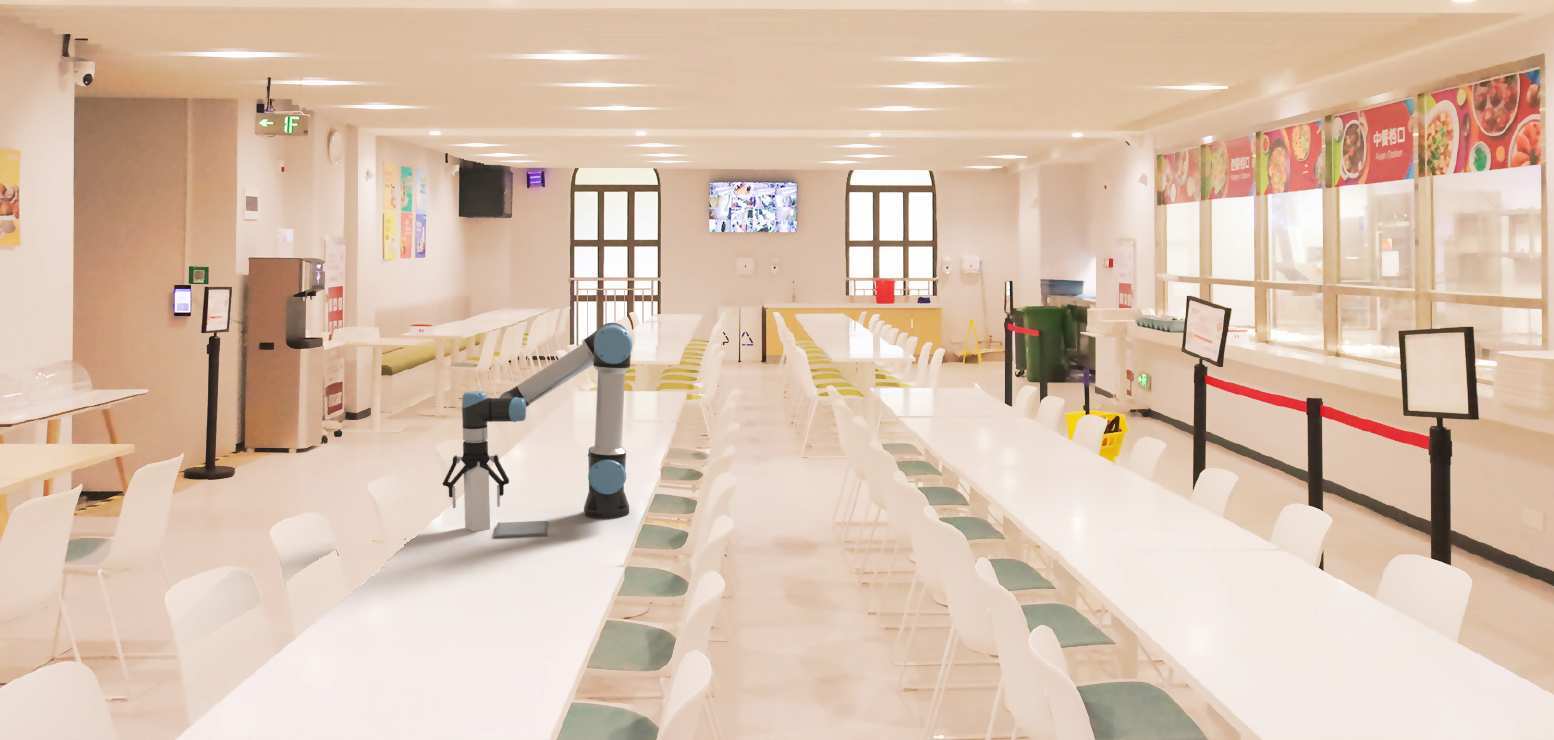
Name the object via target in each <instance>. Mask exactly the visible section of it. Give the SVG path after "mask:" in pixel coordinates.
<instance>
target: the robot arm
mask: <svg viewBox="0 0 1554 740" xmlns="http://www.w3.org/2000/svg"><path fill="white" fill-rule="evenodd" d="M632 340H633V339H632V335H631V334H630V332H628V330H627V329H626V328H625V327H624V326H623V324H620V323H618V322H607V323H605V324H602V325H600V327H599V328H598V329H596V330H595V331H594V332H593V333H591V334H590V335H589V336H587V337H586V338H584V339H583V340H582V344H581V345H579V346H577V347H576V348H574V349H572V350H571V351H570V352H568V353H567V354H565V355H563V356H562V357H560V358H559V359H557V360H555V361H553V362H552V363H551V364H548V365H547V366H546V367H544V368H543V369H540V370H539V371H537V372H536V373H534V374H533V375H532V376H529V378H527V379H525V380H524V381H522V382H521V383H518V385H516V386H515V387H513V388H511V389H510V390H507V391H504V392H503V393H502V394H501V395H500V396H499V397H493V398H492V397H488V394H487V392H485V391H481V390H480V391H478V390H475V391H474V390H473V391H466V392H464V393H463V394H462V401H461V402H462V403H461V404H462V405H461V412H462V413H461V415H462V417H461V419H462V440H463V443H462V456H457V454H456V455H453V457H452V463H451V466H450V468H449V469H448V472H447V473H446V476H445V478H444V480H443V482H442V486H443V487H447V488H448V497H449V498H452V509H456V507H457V490H456V489H457V487H456V486H455V484H456V483H457V482H458V481H459V480H460V478H461V477H462V476H464V472H465V471H466V470H467V469H472V468H474V467H476V466H477V462H479V463H480V467H482V468H484V470H485V469H486V470H488V471H489V477H491V478H492V479H493V480H494V482H495V483H496V484H497V485H496V505H497V508H500V506H501V497H503V496H504V493H505V492H504V491H505V489H504V487H505V485H508V484H510V479H509V476H508V475H507V473H506V471H505V470H504V468H503V466H502V464H501V462H500V459H499V455H498V454H493V455H490V454H489V450H488V449H489V442H488V441H487V440H488V439H489V437H488V422H490V423H493V422H513V423H515V422H523V421H526V418H527V407H529V406H530V405H532V404H534V403H535V402H537V401H538V400H540V399H541V398H543V397H544V396H545V395H547V394H549V393H551V392H552V391H553V390H556V389H557V388H559V387H560V386H562V385H563V384H565V383H567V382H568V381H571V379H573V378H575V377H577V376H578V375H579V374H581V373H582V372H585V371H586V370H587V369H589V368H590V367H592V366H593V368H595V370H596V371H597V381H596V382H597V385H596V386H597V387H596V407H595V409H596V411H595V413H596V414H595V429H594V431H595V432H594V435H595V436H594V446H590V447H589V448H588V453H587V458H588V474H587V475H588V476H587V478H588V494H587V497H586V500H585V503H584V506H583V515H584V516H586V517H587V518H593V519H616V518H621V517H625V516H626V515H629V514H630V504H629V501H628V499H627V496H626V493H625V488H624V487H625V486H624V485H625V482H626V481H627V480H626V479H627V473H626V467H627V465H626V464H627V451H626V449H625V448H624V447H623V445H622V444H623V427H624V426H623V423H624V402H625V381H626V379H625V378H626V372H627V371H628V370H630V368H631V355H632V353H631V352H632V350H633V341H632ZM489 461H491V462H492V463H494V465H495V467H496V469H497V471H498V473H499V475H500V476H501V477H500V476H499V475H498V474H496V472H495V471H494V470H493V468H491V467H490V465H489V464H488V462H489ZM460 462H462V463H463V467H461V469H460V471H459V472H458V473H457V474H456V475H455V476H454V478H452V480H451V481H450V478H451V477H452V474H453V472H454V470H455V468H456V466H457V464H459V463H460ZM501 478H502V479H501Z"/></svg>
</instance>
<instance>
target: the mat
mask: <svg viewBox="0 0 1554 740" xmlns="http://www.w3.org/2000/svg"><path fill="white" fill-rule="evenodd" d="M548 531H549V520H535V521H533V520H532V521H512V522H509V521H508V522H497V524H496V528H495V531H494V534H493V535H494V536H493V539H512V538H513V539H515V538H535V537H536V538H537V537H548V534H549V532H548Z"/></svg>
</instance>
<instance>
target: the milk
mask: <svg viewBox="0 0 1554 740" xmlns="http://www.w3.org/2000/svg"><path fill="white" fill-rule="evenodd" d="M489 477H490V475H489V471H488V470H486V469H485V470H484V468H482V467H480V463H479V462H477V466H476V467H474V468H472V469H467V470H466V471H465V472H464V474H463V491H464V492H463V493H464V495H463V497H464V499H463V500H464V528H465V529H467V530H469V531H470V532H472V533H474V532H477V531H478V532H480V531H485V530H490V529H491V512H490V511H491V509H490V507H491V506H490V478H489Z"/></svg>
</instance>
